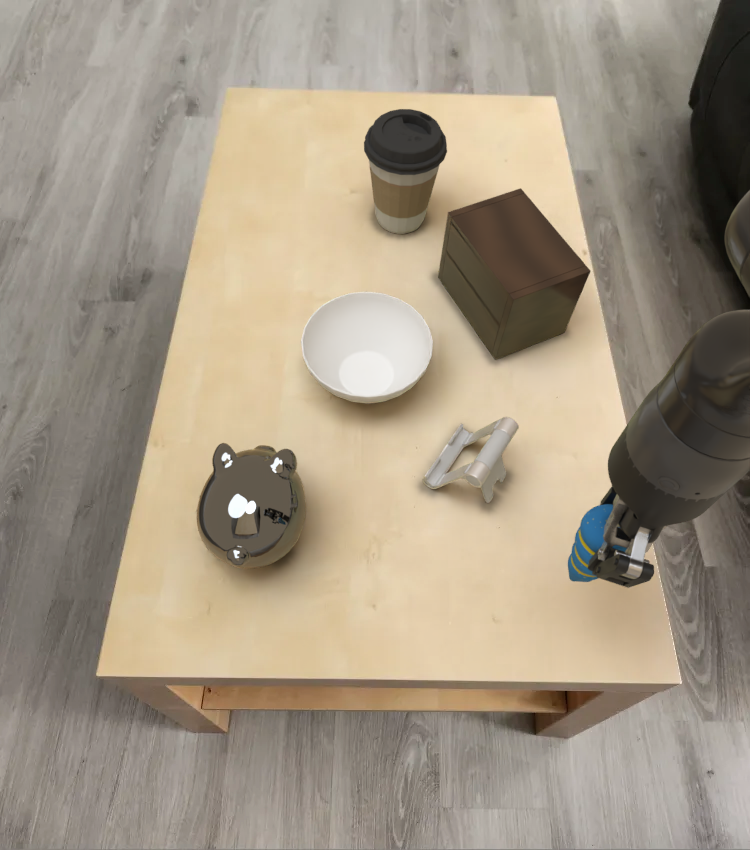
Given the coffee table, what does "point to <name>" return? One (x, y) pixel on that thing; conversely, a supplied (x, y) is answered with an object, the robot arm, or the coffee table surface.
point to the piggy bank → (251, 506)
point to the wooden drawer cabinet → (510, 272)
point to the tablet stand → (484, 466)
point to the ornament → (589, 543)
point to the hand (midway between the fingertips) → (605, 538)
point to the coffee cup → (403, 166)
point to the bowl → (366, 346)
